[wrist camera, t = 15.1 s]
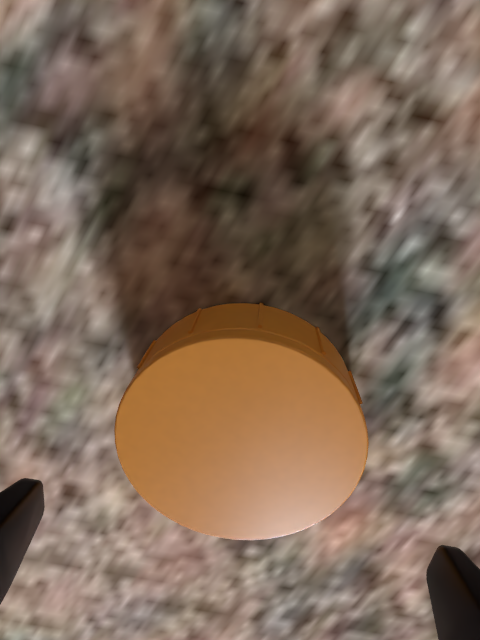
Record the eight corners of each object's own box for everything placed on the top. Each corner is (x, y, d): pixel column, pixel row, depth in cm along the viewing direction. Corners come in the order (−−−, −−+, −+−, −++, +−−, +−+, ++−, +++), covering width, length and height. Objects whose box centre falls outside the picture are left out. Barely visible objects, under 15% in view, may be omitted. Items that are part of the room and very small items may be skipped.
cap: (292, 506, 15) (296, 568, 13) (114, 440, 14) (86, 492, 12) (394, 356, 12) (421, 401, 10) (180, 265, 12) (159, 291, 9)
